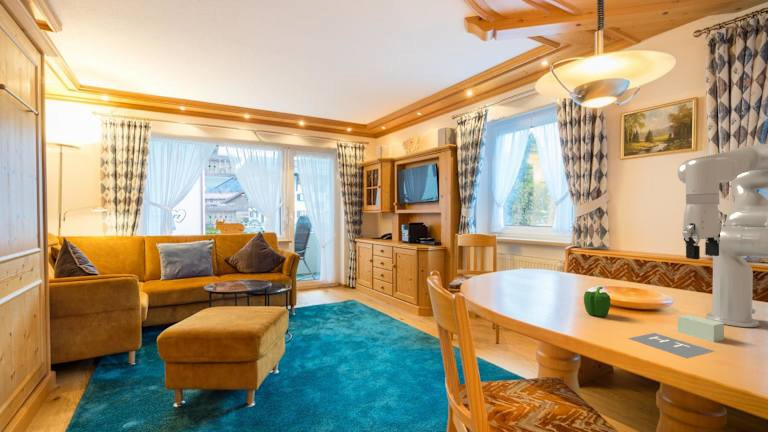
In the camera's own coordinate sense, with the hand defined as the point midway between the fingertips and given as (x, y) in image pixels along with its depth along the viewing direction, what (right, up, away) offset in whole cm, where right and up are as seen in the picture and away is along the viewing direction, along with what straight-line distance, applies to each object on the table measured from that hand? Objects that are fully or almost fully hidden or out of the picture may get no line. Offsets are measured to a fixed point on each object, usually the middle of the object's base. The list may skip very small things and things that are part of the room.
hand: (702, 257), depth 108 cm
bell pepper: (-20, -23, +19) cm, 36 cm away
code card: (-17, -23, -8) cm, 30 cm away
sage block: (-2, -23, -2) cm, 23 cm away
